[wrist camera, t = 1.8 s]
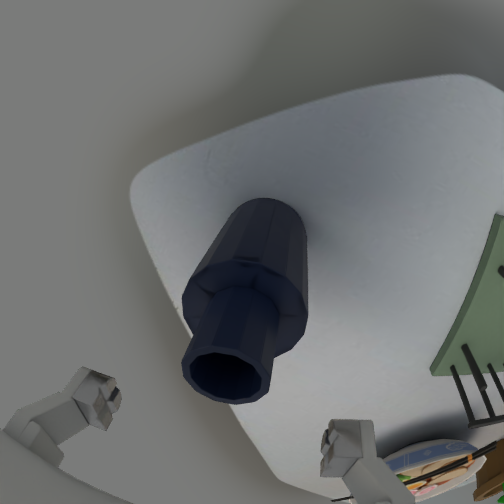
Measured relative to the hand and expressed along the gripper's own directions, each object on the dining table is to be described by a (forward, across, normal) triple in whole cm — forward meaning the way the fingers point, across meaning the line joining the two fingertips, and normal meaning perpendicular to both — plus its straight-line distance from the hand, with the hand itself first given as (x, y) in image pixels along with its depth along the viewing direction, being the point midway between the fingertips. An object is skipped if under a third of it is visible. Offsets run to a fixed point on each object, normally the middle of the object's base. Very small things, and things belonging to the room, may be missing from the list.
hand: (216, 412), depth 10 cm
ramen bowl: (+16, -28, +34) cm, 47 cm away
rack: (+16, -26, +4) cm, 31 cm away
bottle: (+15, 0, 0) cm, 16 cm away
